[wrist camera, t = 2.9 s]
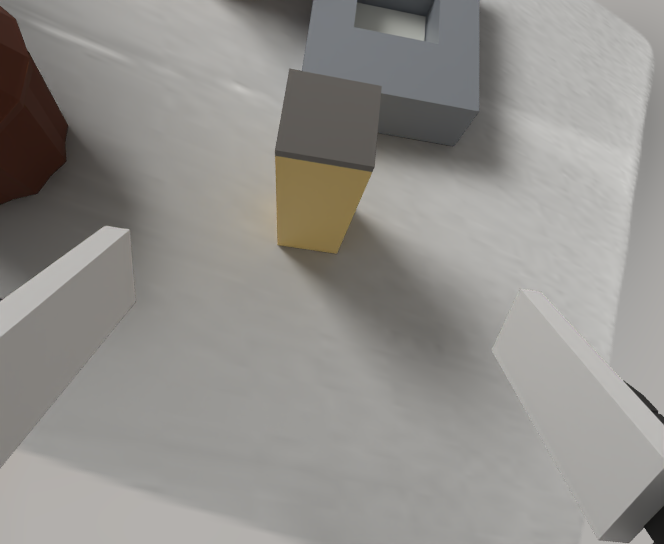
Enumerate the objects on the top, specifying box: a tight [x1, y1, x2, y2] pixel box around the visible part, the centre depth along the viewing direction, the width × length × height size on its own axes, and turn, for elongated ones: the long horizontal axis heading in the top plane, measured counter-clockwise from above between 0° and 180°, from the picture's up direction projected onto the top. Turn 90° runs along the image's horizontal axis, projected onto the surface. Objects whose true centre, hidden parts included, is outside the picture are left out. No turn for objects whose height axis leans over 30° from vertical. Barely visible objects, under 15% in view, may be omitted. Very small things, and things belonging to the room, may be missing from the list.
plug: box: [275, 69, 382, 254], centre depth 21 cm, size 4×4×11 cm
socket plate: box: [302, 0, 479, 146], centre depth 29 cm, size 12×16×4 cm
